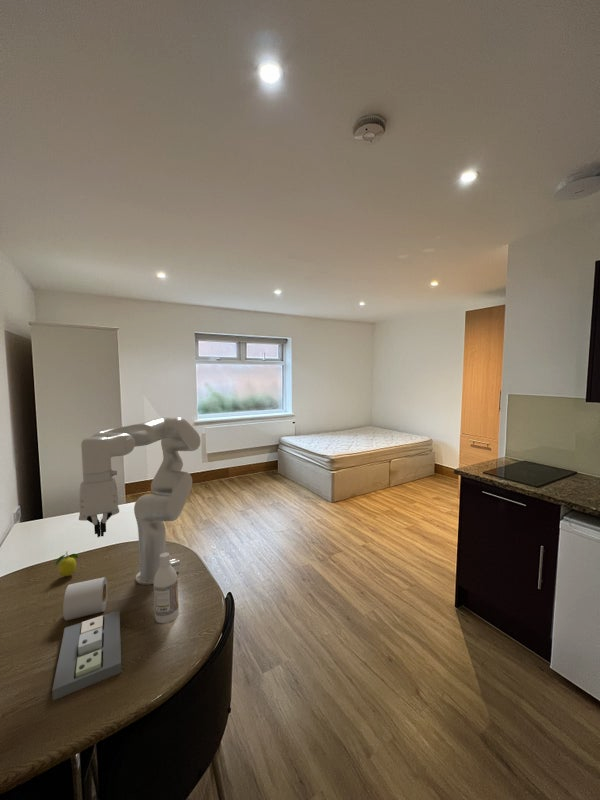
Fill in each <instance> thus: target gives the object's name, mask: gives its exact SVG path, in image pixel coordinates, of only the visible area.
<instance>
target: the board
mask: <svg viewBox="0 0 600 800" xmlns="http://www.w3.org/2000/svg"><path fill="white" fill-rule="evenodd" d="M82 622H83V621H81V622H79V623H75V624H73V625H69V626H66V627H64V630H63V635H62V640H61V645H60V649H59V650H60V651H59V655H58V659H57V660H58V661H57V664H56V670H55V675H54V678H53V679H54V680H53V686H52V690H51V692H52V694H51V695H52V701H55V700H57V699H60V698H62V697H65V696H67V695H70V694H72V693H75V692H78V691H79V690H82V689H84V688H87V687H89V686H92V685H94V684H97V683H98V682H101V681H104V680H107V679H109V678H111V677H114V676H115V675H116V676H117V675H118V674H121V673H122V649H121V648H122V647H121V646H122V644H121V617H120V609H118V610H115V611H112V612H109V613H106V614H103V630H102V643H103V644H102V648H99V649H96V650H93V651H91V652H88V653H85V654H82V655H80V656H79V653H78V645H79V638H80V635H81V628H82ZM100 649H101V652H102V668H99V669H97V670H94V671H92V672H89V673H87V674H84V675H82V676H79V677H77V678H76V666H77V659H78V657H81V656H84V655H87V654H89V653H92V652H95V651H97V650H100Z"/></svg>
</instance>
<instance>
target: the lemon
mask: <svg viewBox="0 0 600 800" xmlns="http://www.w3.org/2000/svg"><path fill="white" fill-rule="evenodd" d="M66 555H67V556H66ZM65 556H66V557H65ZM76 559H79V555H78V554H77V553H71V554H68V552H66V553H65V554H63V555H61V556H59V557H58V558H57V560H56V561H55V566H57V565H58V564H59V566H58V571H59V572H58V573H59V575H60V576H62V577H70V576H71V575H72V574H74V572H75V571H76V568H77V562H76Z"/></svg>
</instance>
